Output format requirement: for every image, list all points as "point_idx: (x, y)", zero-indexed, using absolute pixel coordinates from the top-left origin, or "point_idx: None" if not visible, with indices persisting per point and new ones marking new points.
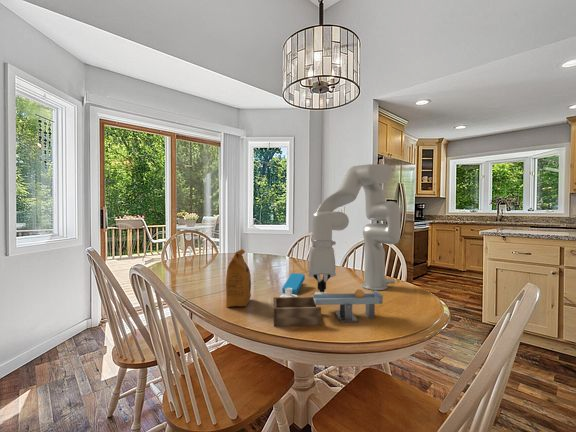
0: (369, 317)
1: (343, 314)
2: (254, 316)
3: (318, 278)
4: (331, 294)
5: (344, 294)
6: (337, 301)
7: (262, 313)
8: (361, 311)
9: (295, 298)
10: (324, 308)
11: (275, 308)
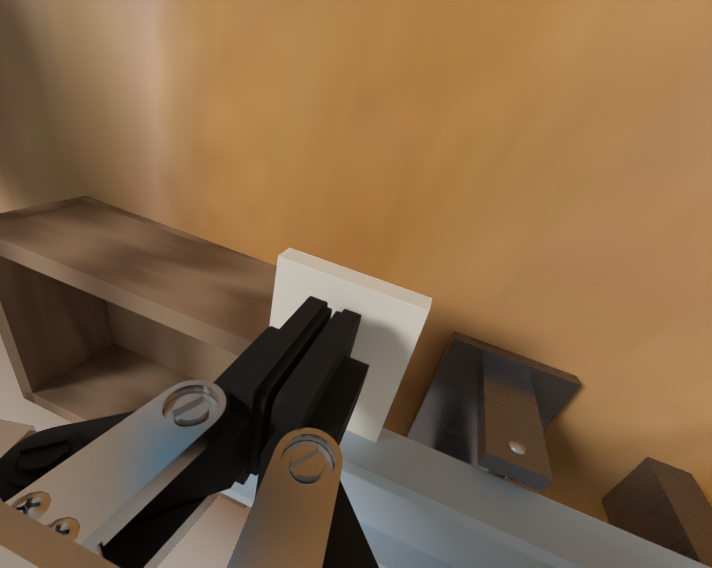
0: (606, 506)
1: (466, 415)
2: (11, 205)
3: (150, 516)
4: (370, 480)
5: (503, 540)
6: (367, 540)
7: (33, 177)
8: (672, 413)
9: (110, 298)
10: (417, 242)
11: (30, 399)
